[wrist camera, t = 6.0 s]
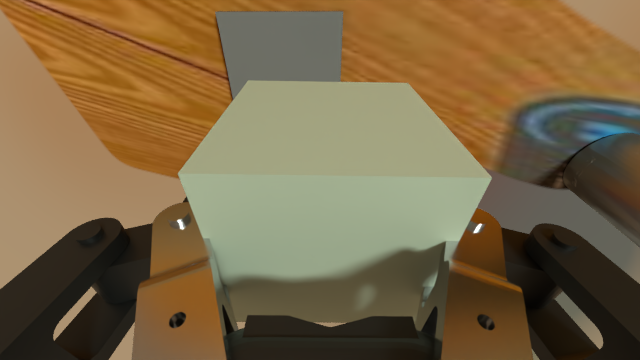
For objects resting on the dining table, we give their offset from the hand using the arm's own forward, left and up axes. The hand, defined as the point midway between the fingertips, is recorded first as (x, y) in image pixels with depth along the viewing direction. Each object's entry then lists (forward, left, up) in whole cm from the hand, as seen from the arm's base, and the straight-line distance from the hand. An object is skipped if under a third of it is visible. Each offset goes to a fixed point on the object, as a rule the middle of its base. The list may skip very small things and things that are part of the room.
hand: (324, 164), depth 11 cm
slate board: (+5, +1, -21) cm, 21 cm away
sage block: (0, 0, -1) cm, 1 cm away
